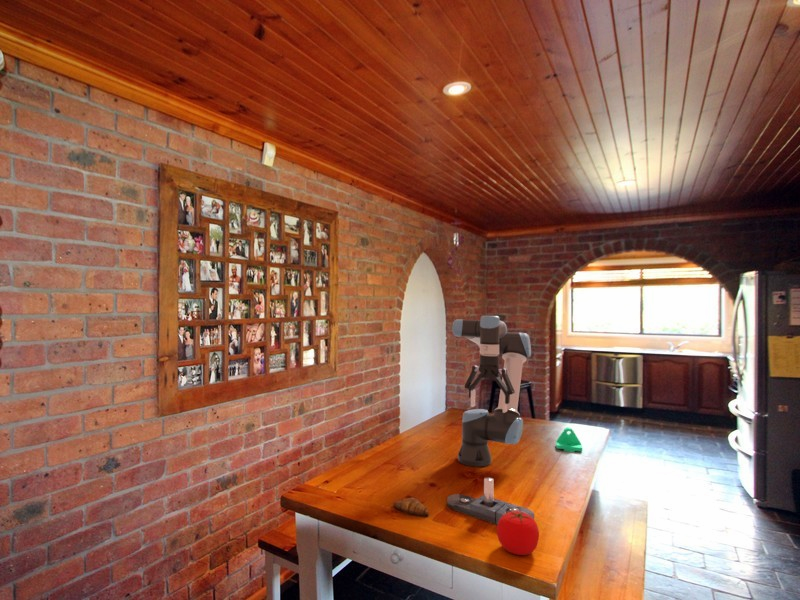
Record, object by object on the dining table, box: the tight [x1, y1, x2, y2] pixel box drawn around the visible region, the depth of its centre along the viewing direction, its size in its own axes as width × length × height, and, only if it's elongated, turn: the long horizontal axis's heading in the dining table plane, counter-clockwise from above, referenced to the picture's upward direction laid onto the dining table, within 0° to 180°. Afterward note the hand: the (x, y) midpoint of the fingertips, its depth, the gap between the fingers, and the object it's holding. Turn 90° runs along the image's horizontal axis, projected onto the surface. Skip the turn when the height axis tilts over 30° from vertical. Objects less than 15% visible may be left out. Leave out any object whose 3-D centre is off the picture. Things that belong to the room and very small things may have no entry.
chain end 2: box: [470, 494, 535, 526], centre depth 142 cm, size 20×9×5 cm, turn 53°
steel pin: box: [483, 477, 495, 507], centre depth 145 cm, size 3×3×12 cm
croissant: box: [392, 497, 430, 517], centre depth 147 cm, size 14×7×5 cm, turn 60°
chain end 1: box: [446, 493, 496, 525], centre depth 149 cm, size 20×9×3 cm, turn 53°
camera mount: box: [555, 427, 583, 453], centre depth 217 cm, size 12×8×10 cm, turn 72°
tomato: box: [496, 511, 540, 556], centre depth 124 cm, size 12×12×10 cm
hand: (488, 409), depth 168 cm, fingers open, 13 cm apart
